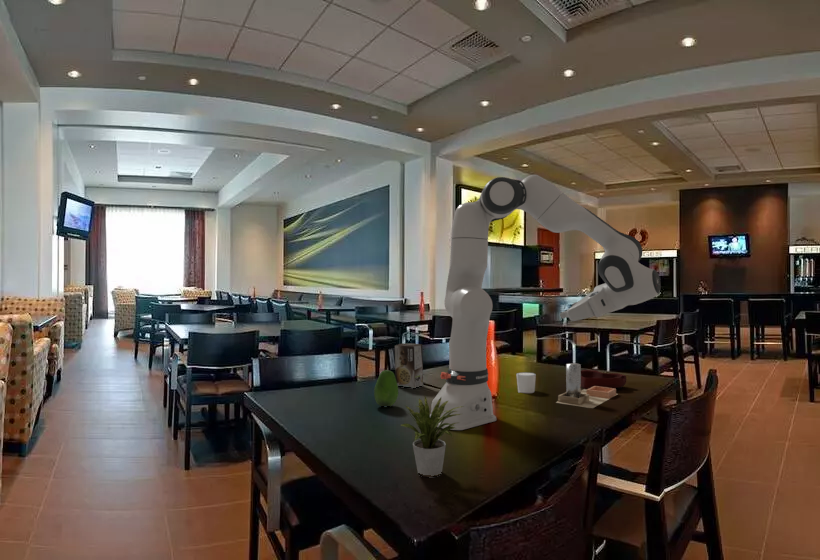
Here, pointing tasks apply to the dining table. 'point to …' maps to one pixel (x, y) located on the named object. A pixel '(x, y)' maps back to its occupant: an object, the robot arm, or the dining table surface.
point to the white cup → (526, 382)
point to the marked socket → (601, 392)
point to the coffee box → (409, 364)
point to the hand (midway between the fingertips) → (567, 310)
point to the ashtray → (601, 379)
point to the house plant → (430, 437)
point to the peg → (573, 380)
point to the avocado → (386, 389)
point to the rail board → (582, 400)
